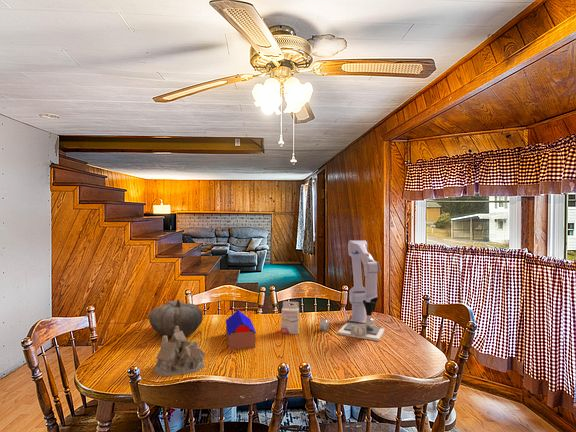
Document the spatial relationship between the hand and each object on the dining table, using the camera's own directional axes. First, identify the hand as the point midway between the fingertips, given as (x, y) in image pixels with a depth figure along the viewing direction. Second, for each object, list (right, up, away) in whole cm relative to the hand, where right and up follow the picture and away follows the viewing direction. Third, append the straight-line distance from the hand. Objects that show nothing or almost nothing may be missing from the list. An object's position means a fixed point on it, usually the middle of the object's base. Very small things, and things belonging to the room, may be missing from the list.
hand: (370, 313), depth 173 cm
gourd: (-95, -9, -3) cm, 96 cm away
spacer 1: (-23, -10, +4) cm, 25 cm away
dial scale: (-4, -10, 0) cm, 11 cm away
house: (-63, -10, -12) cm, 65 cm away
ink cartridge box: (-40, -10, 0) cm, 41 cm away
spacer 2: (0, -8, 0) cm, 8 cm away
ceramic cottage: (-82, -10, -40) cm, 92 cm away
